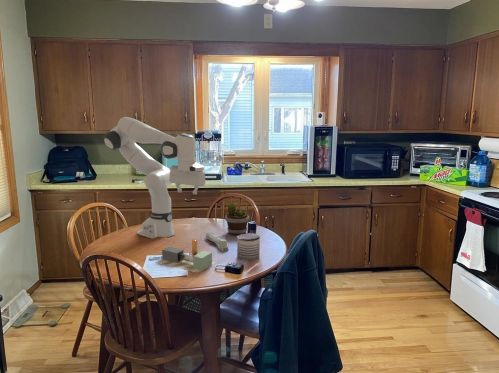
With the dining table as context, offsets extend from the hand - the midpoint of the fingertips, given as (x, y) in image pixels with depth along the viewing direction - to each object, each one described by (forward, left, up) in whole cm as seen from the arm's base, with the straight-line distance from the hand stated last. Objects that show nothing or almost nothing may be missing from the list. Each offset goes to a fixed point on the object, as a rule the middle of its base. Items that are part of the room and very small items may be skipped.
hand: (187, 193), depth 193 cm
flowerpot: (+7, +40, -31) cm, 51 cm away
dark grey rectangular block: (+2, -15, -30) cm, 34 cm away
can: (+32, +7, -31) cm, 45 cm away
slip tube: (+13, -15, -29) cm, 35 cm away
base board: (+9, -15, -31) cm, 36 cm away
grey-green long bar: (+8, +15, -32) cm, 36 cm away
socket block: (+19, -15, -30) cm, 39 cm away
